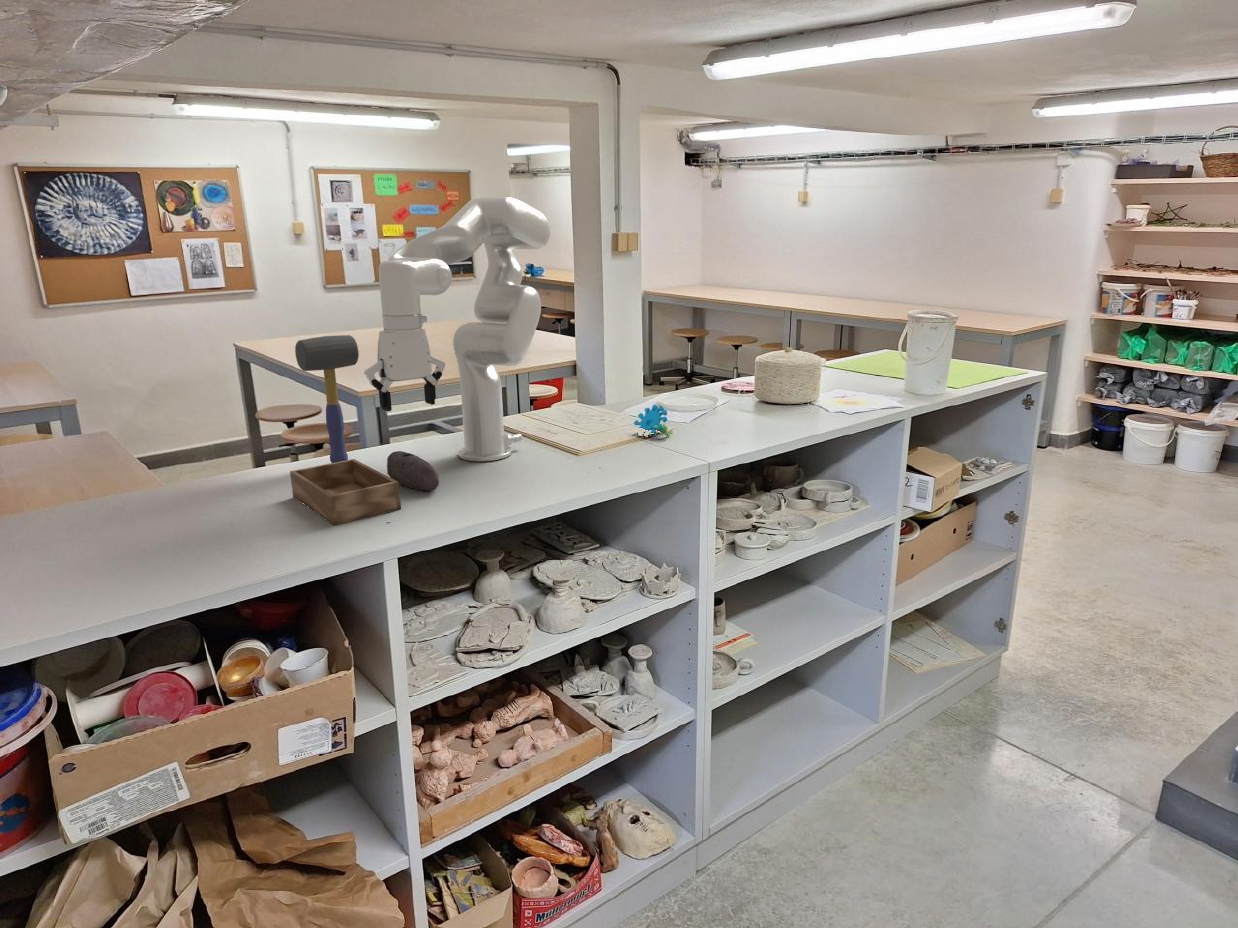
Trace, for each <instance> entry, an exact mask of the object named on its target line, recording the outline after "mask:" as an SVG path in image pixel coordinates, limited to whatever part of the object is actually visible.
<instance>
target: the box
mask: <svg viewBox="0 0 1238 928" xmlns="http://www.w3.org/2000/svg"><path fill="white" fill-rule="evenodd" d="M289 475H290V480H291V481H290V482H291V489H292V490H291V491H292V497H293V498H294V499H295V498H296V499H297V500H296V499H295V500H296V501H298V502H299V501H300V502H299V503H301V502H302V503H304V504H305V505H306V506H308V507H309V508H310V510H311V509H312V510H313V512H314V511H315V512H316V513H315V512H314V513H315V514H317V515H318V514H319V515H320V516H319V515H318V516H319V517H321V518H323V519H324V520H325V519H326V520H325V521H326V522H328V523H329V522H330V523H329V524H331V525H332V524H333V526H335V525H336V524H337V525H341V524H345V523H349V522H353V521H356V520H357V519H358V520H362V519H365V518H369V517H373V516H378V515H382V514H387V513H392V512H394V511H398V510H401V509H402V505H401V494H400V484H399V482H398V481H396V480H394V479H392V478H390V476H389V475H386V474H384V473H383V472H380V471H379V470H376V469H374V468H372V467H370V466H368V465H367V464H365V463H362V462H361V461H359V460H356V459H355V458H353V459H352V458H351V459H348V460H346V461H341V462H336V463H326V464H322V465H316V466H312V467H306V468H300V469H295V470H291V471H289ZM302 503H301V504H302ZM304 504H303V505H304ZM305 505H304V506H305ZM306 506H305V507H306ZM308 507H307V508H308ZM309 508H308V509H309ZM312 510H311V511H312ZM361 518H362V519H361ZM340 523H341V524H340Z"/></svg>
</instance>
